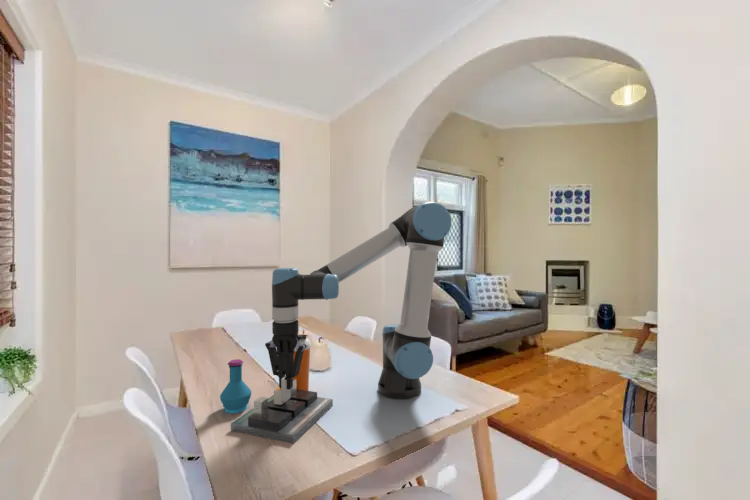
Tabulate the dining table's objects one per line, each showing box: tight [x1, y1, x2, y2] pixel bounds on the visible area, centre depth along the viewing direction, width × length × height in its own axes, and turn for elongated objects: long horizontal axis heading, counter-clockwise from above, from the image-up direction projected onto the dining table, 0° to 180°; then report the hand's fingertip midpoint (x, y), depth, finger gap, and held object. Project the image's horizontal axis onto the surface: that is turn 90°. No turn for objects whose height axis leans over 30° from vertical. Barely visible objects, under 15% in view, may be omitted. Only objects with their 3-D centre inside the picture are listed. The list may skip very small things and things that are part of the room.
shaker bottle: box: [293, 334, 312, 391], centre depth 125 cm, size 9×9×20 cm
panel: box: [230, 379, 334, 444], centre depth 107 cm, size 20×23×8 cm
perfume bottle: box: [219, 358, 252, 414], centre depth 113 cm, size 9×9×15 cm
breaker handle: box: [273, 386, 286, 405], centre depth 107 cm, size 2×3×4 cm
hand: (286, 399), depth 107 cm, fingers closed
